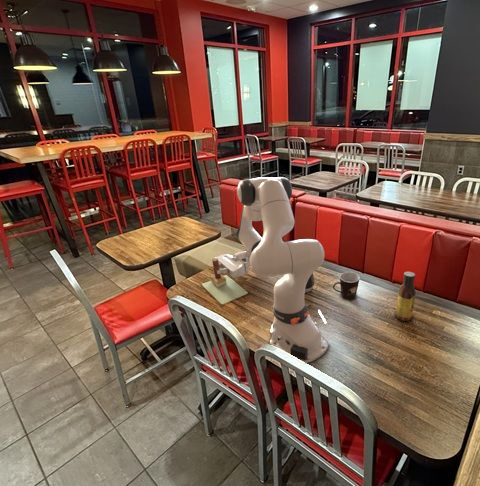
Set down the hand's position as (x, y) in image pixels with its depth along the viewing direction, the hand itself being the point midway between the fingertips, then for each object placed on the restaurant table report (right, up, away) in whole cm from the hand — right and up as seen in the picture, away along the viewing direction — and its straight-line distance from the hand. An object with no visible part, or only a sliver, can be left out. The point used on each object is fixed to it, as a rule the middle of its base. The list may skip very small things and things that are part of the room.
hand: (215, 270), depth 151 cm
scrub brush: (+1, -6, +4) cm, 7 cm away
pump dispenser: (+43, -9, -4) cm, 44 cm away
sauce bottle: (+82, -17, -25) cm, 87 cm away
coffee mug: (+61, -11, -10) cm, 63 cm away
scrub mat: (+5, -9, -1) cm, 10 cm away
